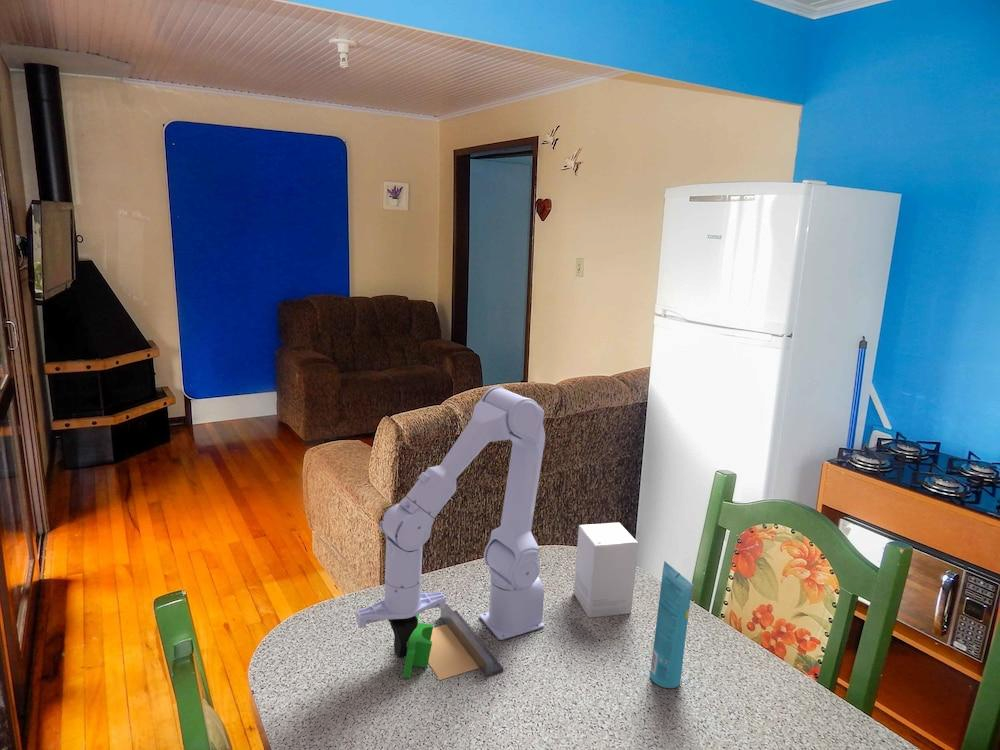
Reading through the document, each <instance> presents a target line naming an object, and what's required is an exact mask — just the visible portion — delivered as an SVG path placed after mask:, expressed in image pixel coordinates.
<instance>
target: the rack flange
mask: <svg viewBox="0 0 1000 750" xmlns="http://www.w3.org/2000/svg"><path fill="white" fill-rule="evenodd" d="M440 618H441V620H442V621H443V622H444V624H443V625H439V626H436V627H433V630H434V631H433V630H432V635H431V640H430V641H432V646H431V651H430V656H429V661H428V666H430V668H431V669H432V670H433V672H434V674H435V675H436V677H437V679H438V680H439V681H443V680H445V679H448V678H451V677H456V676H457V675H460V674H463V673H464V674H465V673H466V672H469V671H473V670H476V669H479V670H480V671H481V672H482V674H483V675H484V676H485V678H487V677H490V676H493V675H497V674H499V673H502V672H504V667H503V666H502V664H501V663H500V662H499V661H498V660H497V658H496V657H495V656H494V654H493V653H492V652H491V651H490V650H489V648H488V647H487V646H486V645H485V644H484V642H483V640H482V639H480V637H479V636H478V635H477V634H476V632H475V631H474V630H473V629H472V627H471V626H470V625H469V623H467V621H466V620H465V619H464V618H463V617H462V615H461V614H460V613H459V612H458V609H456V610H453V609H452V608H451V607H450V605H449V604H448V603H445V608H442V609H440Z"/></svg>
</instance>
